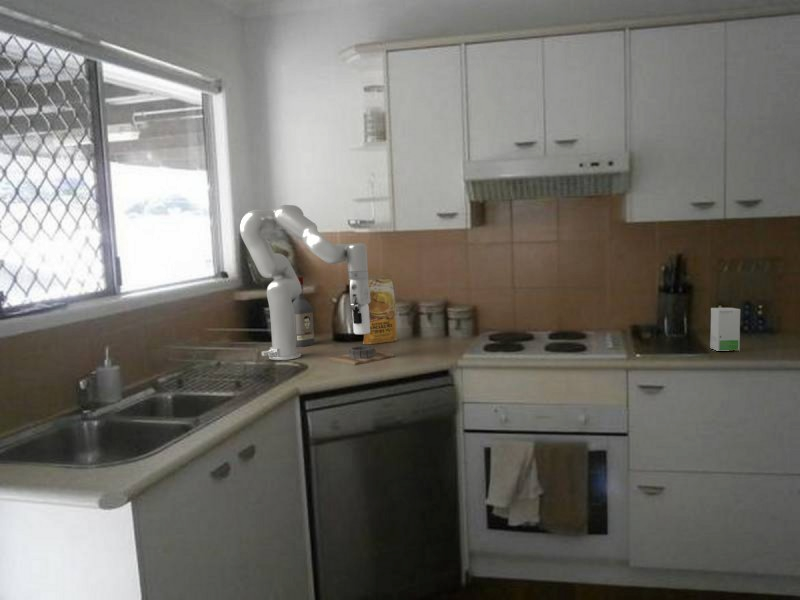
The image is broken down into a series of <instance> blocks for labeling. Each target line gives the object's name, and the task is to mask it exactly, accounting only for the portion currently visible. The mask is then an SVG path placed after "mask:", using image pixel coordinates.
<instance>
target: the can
mask: <svg viewBox="0 0 800 600" xmlns="http://www.w3.org/2000/svg"><path fill="white" fill-rule="evenodd" d="M355 305H359V304H355ZM357 308H358V307H357ZM351 311H353V310H352V309H351ZM351 313H352V316H353V312H351ZM360 313H361V317H362V323H361V324H354V321H353V320H352V328H353V329H352V330H353V334H354V335H358V336H361V335H363V336H364V334H369V333H370V318H369V306H368V304H366V305H364V306H361V310H360Z"/></svg>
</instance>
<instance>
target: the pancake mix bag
mask: <svg viewBox="0 0 800 600" xmlns="http://www.w3.org/2000/svg"><path fill="white" fill-rule="evenodd" d="M368 283H369V290H370V300H371V302H370V303H369V304H368V306H369V318H370V333H369V334H364V335H363V341H362V345H378V343H379V344H385V342H387V343H393V342H392V341H394V340H395V341H397V340H398V338H397V306H396V303H397V301H396V294H395V285H394V281H393V279H391V277H385V278H368ZM395 341H394V342H395Z"/></svg>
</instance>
